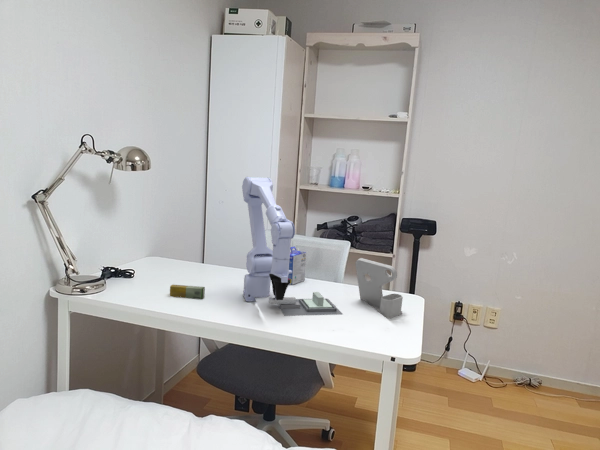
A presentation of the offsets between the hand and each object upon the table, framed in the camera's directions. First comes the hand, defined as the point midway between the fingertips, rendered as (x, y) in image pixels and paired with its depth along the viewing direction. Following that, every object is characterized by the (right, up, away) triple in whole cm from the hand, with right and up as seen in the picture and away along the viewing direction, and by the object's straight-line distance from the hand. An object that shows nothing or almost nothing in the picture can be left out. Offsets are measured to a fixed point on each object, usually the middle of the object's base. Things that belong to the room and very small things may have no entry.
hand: (278, 297), depth 154 cm
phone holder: (+34, -6, +11) cm, 36 cm away
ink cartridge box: (+4, 0, +38) cm, 38 cm away
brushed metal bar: (+1, -2, +1) cm, 2 cm away
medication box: (-33, -2, +9) cm, 34 cm away
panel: (+10, -5, +4) cm, 12 cm away
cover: (+13, -4, +4) cm, 14 cm away
